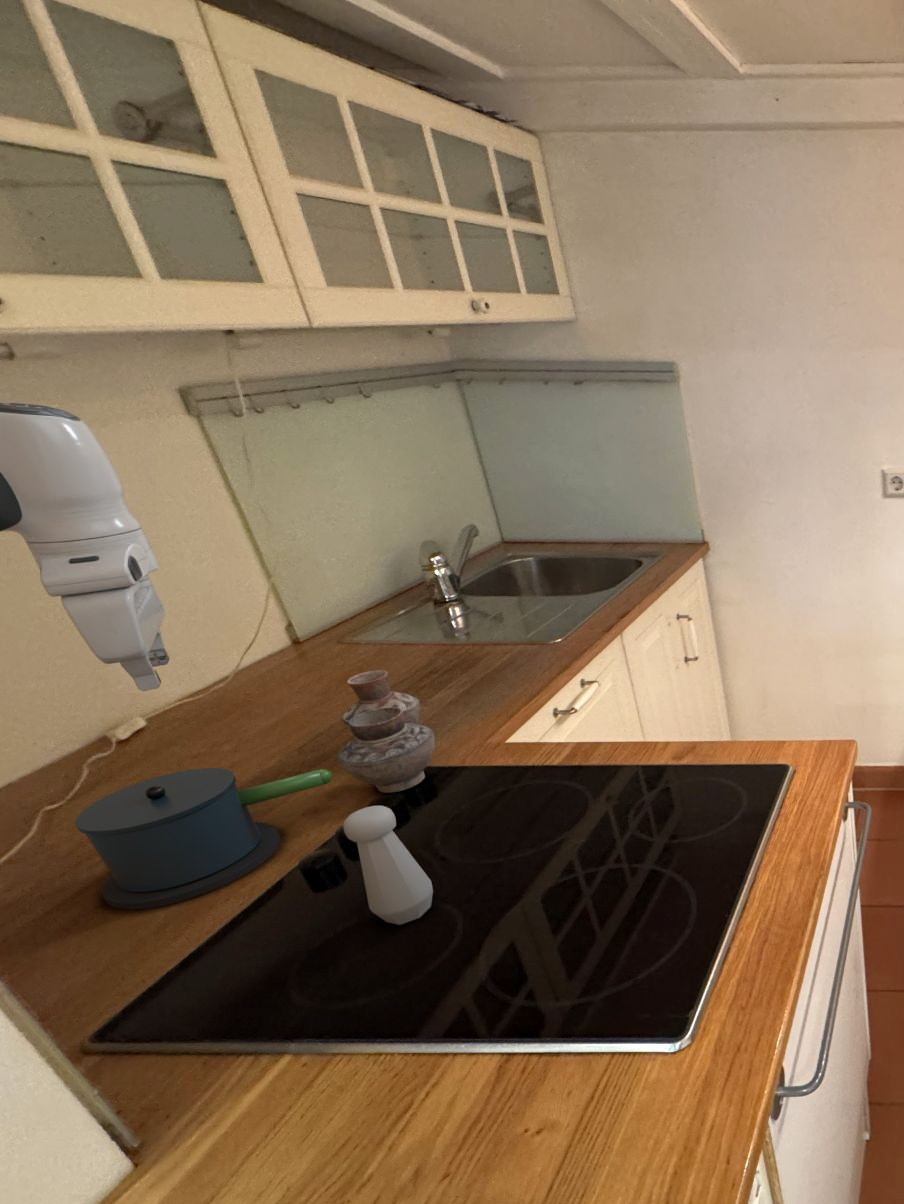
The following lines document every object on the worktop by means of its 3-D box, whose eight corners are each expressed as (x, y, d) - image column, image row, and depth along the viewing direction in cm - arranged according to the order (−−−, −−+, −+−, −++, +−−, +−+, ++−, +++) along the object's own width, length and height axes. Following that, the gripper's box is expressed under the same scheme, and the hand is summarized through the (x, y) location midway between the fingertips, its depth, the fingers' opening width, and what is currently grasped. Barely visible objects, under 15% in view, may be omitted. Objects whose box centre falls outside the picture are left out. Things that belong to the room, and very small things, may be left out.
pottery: (432, 724, 127) (407, 658, 122) (452, 784, 109) (424, 709, 104) (349, 746, 121) (319, 677, 116) (356, 814, 103) (320, 735, 98)
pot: (102, 910, 84) (52, 835, 80) (126, 852, 94) (83, 782, 90) (349, 834, 96) (317, 766, 92) (347, 790, 106) (319, 726, 102)
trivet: (94, 930, 83) (89, 923, 83) (115, 862, 95) (111, 855, 94) (281, 869, 92) (277, 862, 92) (280, 813, 104) (277, 807, 103)
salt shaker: (441, 915, 84) (399, 816, 78) (378, 938, 81) (330, 836, 75) (437, 888, 88) (397, 792, 82) (377, 908, 85) (331, 810, 79)
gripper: (75, 548, 90) (131, 657, 96) (36, 584, 75) (104, 711, 81) (149, 539, 93) (198, 645, 99) (125, 573, 79) (184, 695, 85)
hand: (156, 675), depth 90 cm, fingers open, 8 cm apart
